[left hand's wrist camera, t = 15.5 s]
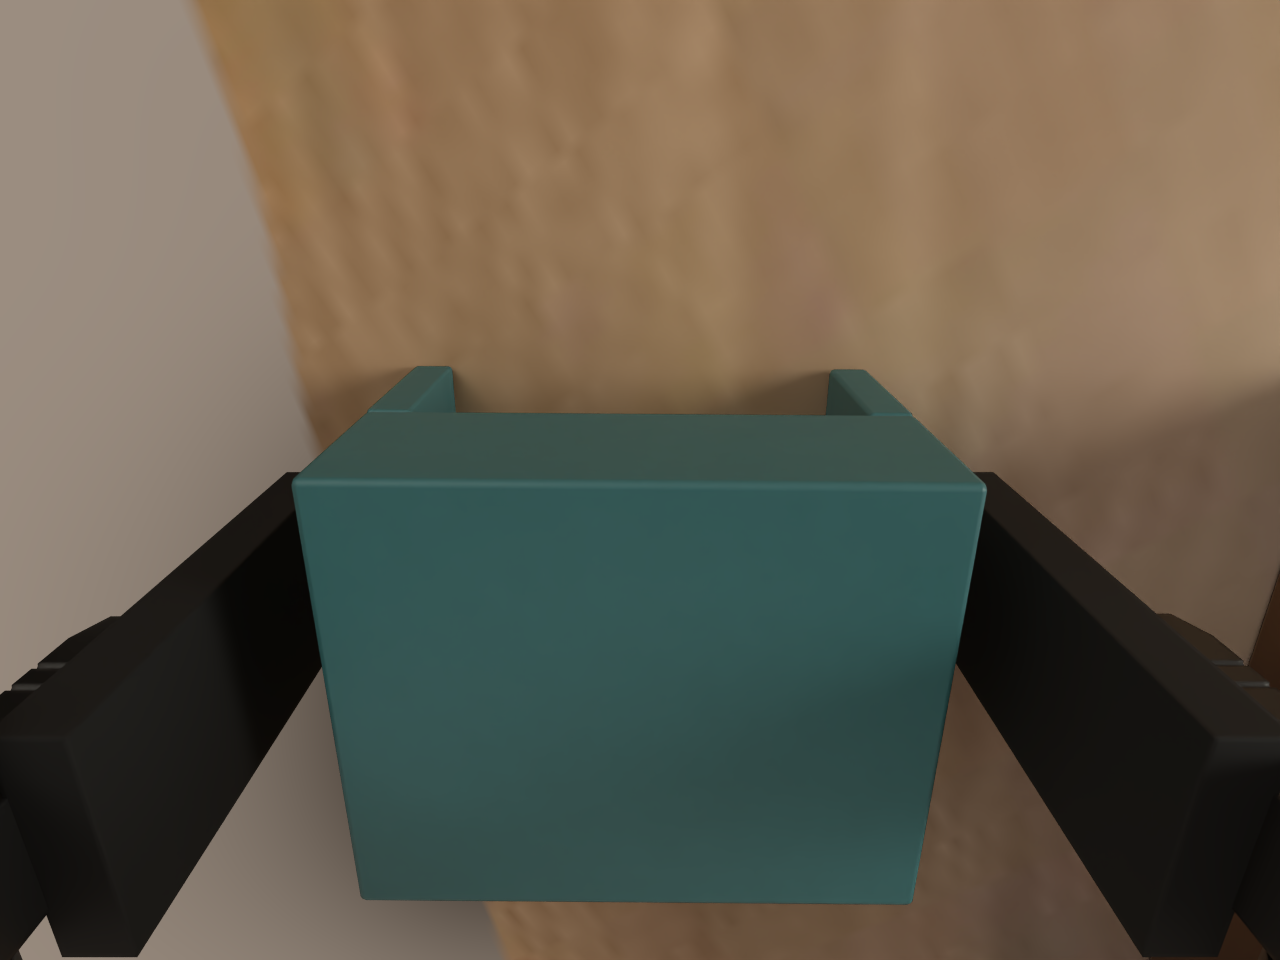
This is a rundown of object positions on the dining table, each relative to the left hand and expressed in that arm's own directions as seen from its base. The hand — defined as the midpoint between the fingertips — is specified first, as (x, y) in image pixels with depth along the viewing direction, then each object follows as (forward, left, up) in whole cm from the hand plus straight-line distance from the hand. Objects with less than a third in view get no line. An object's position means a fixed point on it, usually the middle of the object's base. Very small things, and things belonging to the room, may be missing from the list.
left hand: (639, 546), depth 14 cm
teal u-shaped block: (0, 0, -1) cm, 1 cm away
